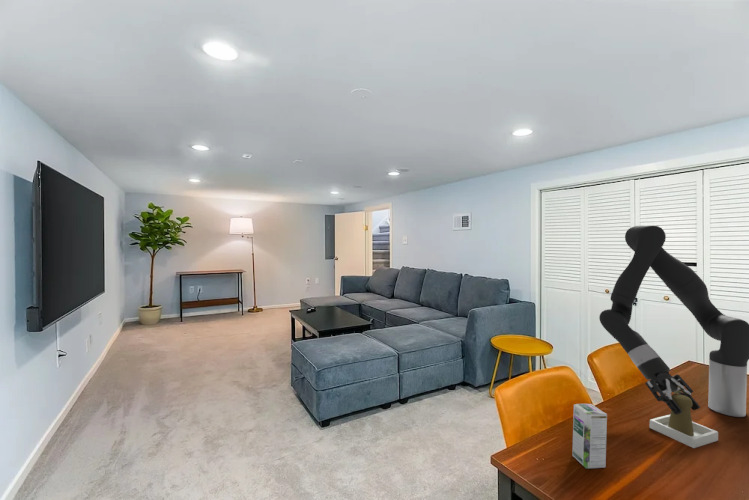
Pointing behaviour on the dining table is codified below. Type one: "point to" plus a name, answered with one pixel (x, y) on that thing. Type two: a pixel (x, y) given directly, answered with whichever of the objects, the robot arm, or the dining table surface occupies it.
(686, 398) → the cork
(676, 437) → the keeper tray
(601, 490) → the dining table surface
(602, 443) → the syrup box
